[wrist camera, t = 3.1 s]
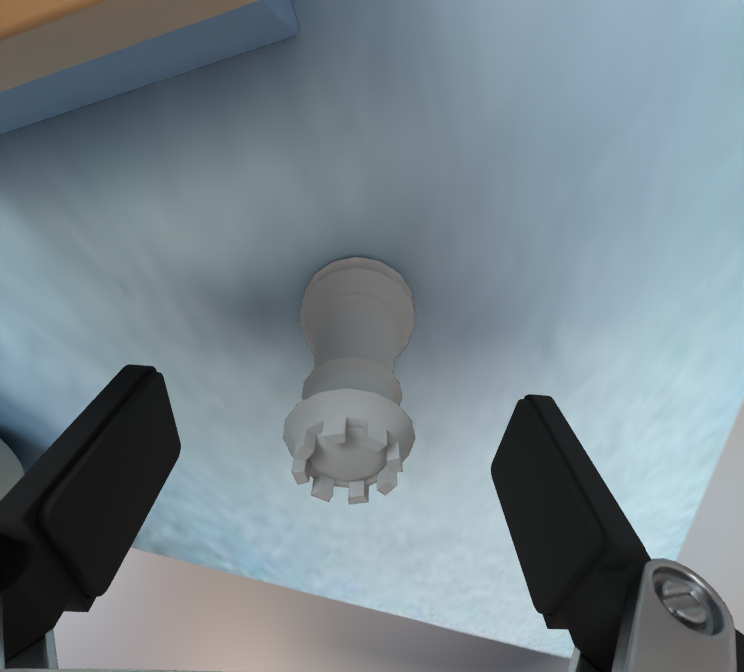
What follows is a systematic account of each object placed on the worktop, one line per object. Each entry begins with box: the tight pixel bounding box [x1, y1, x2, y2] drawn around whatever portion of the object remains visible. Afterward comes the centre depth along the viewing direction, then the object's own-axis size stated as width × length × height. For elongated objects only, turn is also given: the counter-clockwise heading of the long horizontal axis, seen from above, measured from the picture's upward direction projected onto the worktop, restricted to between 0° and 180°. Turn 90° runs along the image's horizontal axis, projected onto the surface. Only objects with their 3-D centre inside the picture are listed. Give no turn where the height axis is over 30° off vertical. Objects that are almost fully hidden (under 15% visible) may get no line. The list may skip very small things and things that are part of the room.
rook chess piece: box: [283, 257, 415, 504], centre depth 12 cm, size 4×4×8 cm
